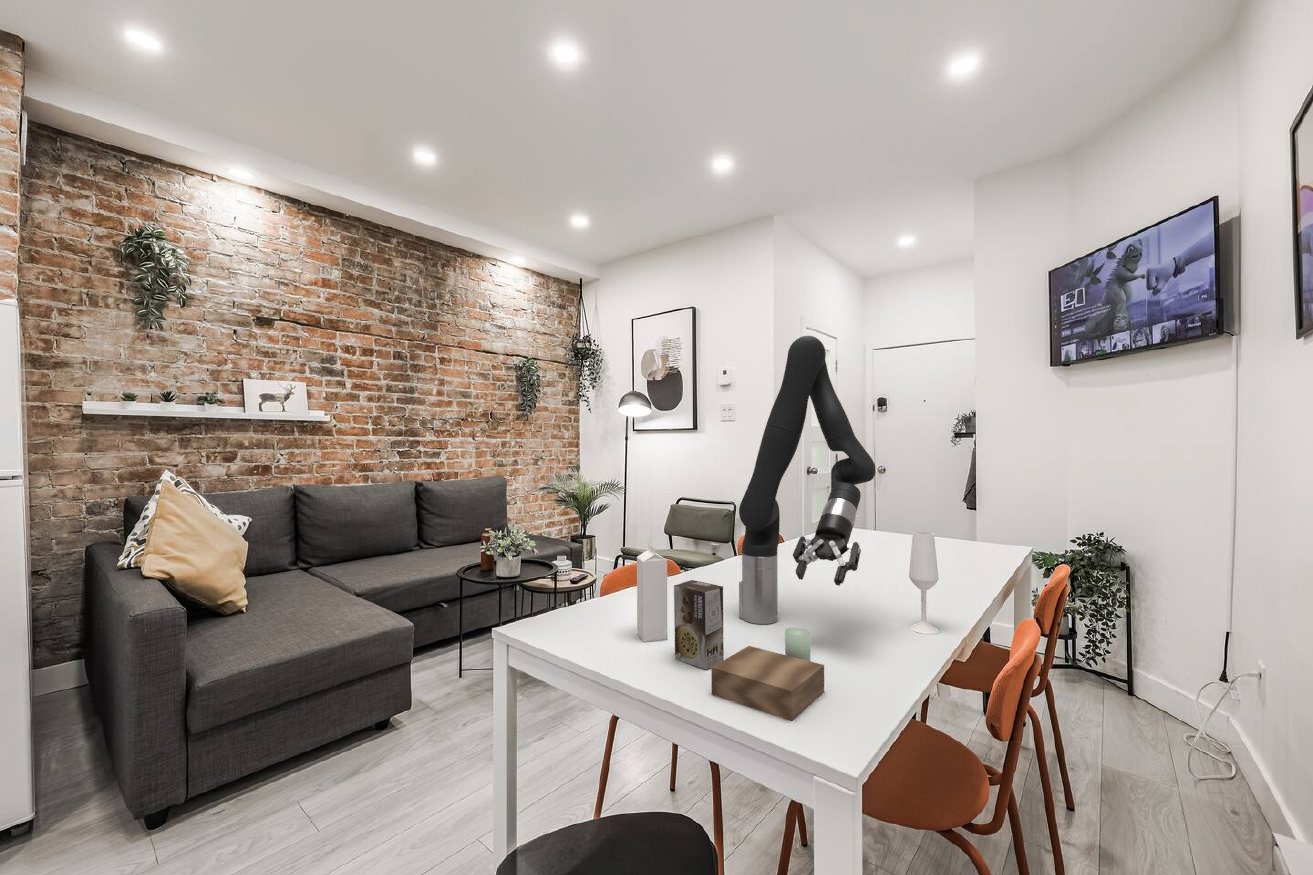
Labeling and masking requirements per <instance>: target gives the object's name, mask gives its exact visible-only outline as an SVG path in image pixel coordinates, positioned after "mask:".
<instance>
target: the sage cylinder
mask: <svg viewBox="0 0 1313 875" xmlns="http://www.w3.org/2000/svg"><path fill="white" fill-rule="evenodd" d="M784 635H785V636H784V637H785V638H784V643H785V644H784V646H785V647H784V655H787V656H791V657H795V658H799V659H803V660H807V661H811V631H810V630H808V629H806V628H801V627H789V628H785V631H784Z"/></svg>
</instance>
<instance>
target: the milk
mask: <svg viewBox="0 0 1313 875" xmlns="http://www.w3.org/2000/svg"><path fill="white" fill-rule="evenodd" d="M647 547H648V548H647V550H645V551H644V552H642V553H641V554H639V555H638V556H636V634H637V636H638V637H639V638H640V640H642V642H643V643H647V642H648V643H650V642H657V641H666V640H668V560H667V559H666V558H665V557H663V556H662V555H659V554H658V553H657V552H656V547H655V546H654V545H652V544H650V543H648V546H647Z"/></svg>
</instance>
